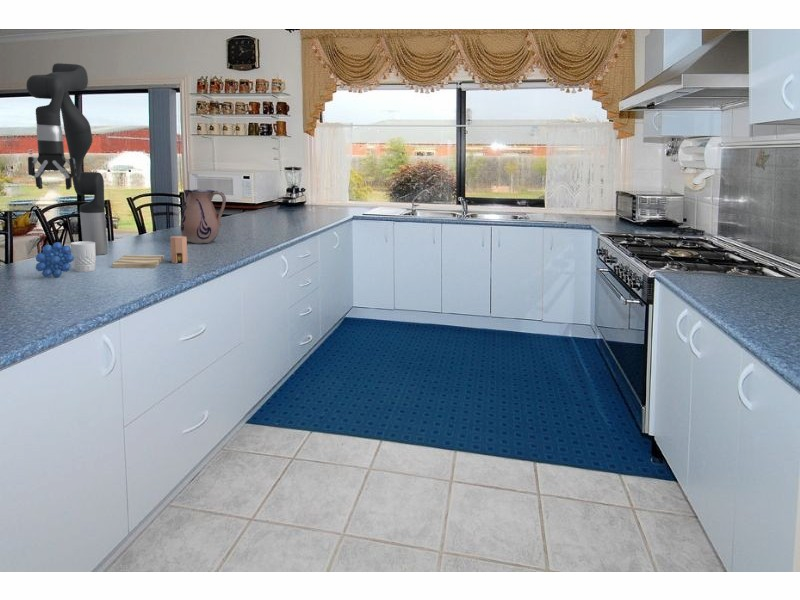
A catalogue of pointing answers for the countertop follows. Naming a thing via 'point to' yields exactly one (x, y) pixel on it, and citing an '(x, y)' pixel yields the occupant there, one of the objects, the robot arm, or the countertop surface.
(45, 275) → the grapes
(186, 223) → the ceramic pitcher
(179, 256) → the mustard ball
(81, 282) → the countertop surface
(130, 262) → the oak board
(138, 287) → the countertop surface
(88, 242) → the white cup
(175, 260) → the salmon octagonal post
